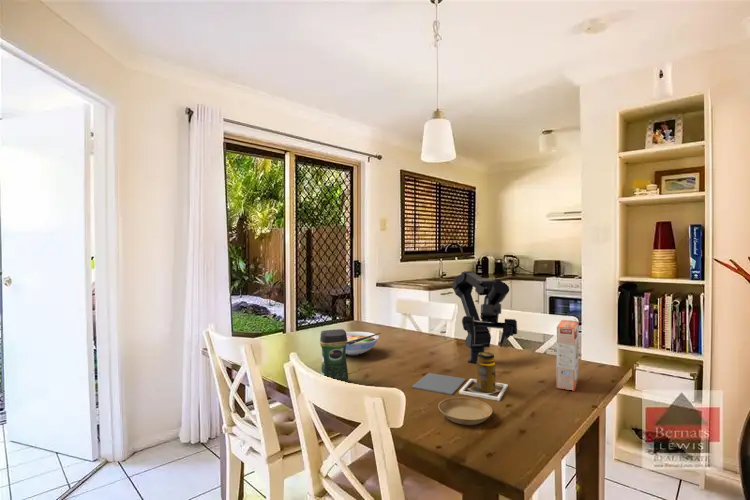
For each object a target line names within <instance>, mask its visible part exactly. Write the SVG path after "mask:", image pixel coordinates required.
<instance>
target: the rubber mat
mask: <svg viewBox="0 0 750 500" xmlns="http://www.w3.org/2000/svg"><path fill="white" fill-rule="evenodd" d="M466 380H467V379H466V378H464V377H456V376H452V375H451V376H450V375H445V374H438V373H433V372H428V373H427V374H425V375H424V376H423V377H421V378H420V379H419V380H418V381H417V382H414V384H413V385H412V386H411V388H412V389H418V390H423V391H429V392H433V393H439V394H445V395H449V396H452V395H454V393H455V392H456V391H457V390H458V389H459V388H460V387H461V386H462V385H463V383H465V381H466Z"/></svg>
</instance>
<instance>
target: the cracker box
mask: <svg viewBox="0 0 750 500" xmlns="http://www.w3.org/2000/svg"><path fill="white" fill-rule="evenodd" d="M579 324H580V323H579V321H577V320H570V319H569V320H567V319H561V321H560V322H559V323H558V325H556V365H555V366H556V373H555V374H556V375H555V377H556V378H555V380H556V381H555V386H556V389H560V390H564V389H565V391H569V390H572V391H571V392H575V391H576V387H577V385H576V384H578V381H579V356H580V355H579V352H580V351H579V347H580V346H579V344H580V343H579V339H580V338H579V335H580V334H579V332H580V331H579V330H580V326H579Z"/></svg>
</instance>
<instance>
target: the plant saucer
mask: <svg viewBox="0 0 750 500" xmlns="http://www.w3.org/2000/svg"><path fill="white" fill-rule="evenodd" d="M437 406H438V407H437V408H438V410H439V411H440V413H441V414H442V415H443V416H444V417H445V418H446V419H447V420H449V421H450V422H452V423H455V424H457V425H458V424H459V425H463V426H464V425H465V426H473V425H474V426H475V425H479V424H481V423H484V422H485V421H487V419H488V418H490V416H492V414H493V408H492V407H491V405H489V404H488V403H486V402H485V401H482V400H479V399H475V398H471V397H461V396H460V397H459V396H457V397H451V398H450V397H449V398H446V399H443V400H441V401H440V402H439V403H438V405H437Z"/></svg>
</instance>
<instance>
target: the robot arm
mask: <svg viewBox="0 0 750 500" xmlns="http://www.w3.org/2000/svg"><path fill="white" fill-rule="evenodd" d="M451 284H452V285H451V287H452V290H453V291H454V294H455V295H456V296H457V297H458V298H460V301H461V304H462V307H463V310H464V313H465V315H464V316H463V317H462V320H461V323H462V327H463V330H464V331H466V332H467V336H466V338H465V339H464V343H465V347H467V348H469V351H470V352H469V355H470V356H469V359H468V360H467V363H472V364H477V360H478V353H480V352H486V350H485V348H490V346H491V341H492V336H491V333H490V330H489V328H490V329H502V333H501V338H500V344H499V345H500V348H502V347H503V346H504V344H505V343H506V342H507V340H508V339H509V338H510V337H512V336H514V335H517V334H518V322H517V320H516V318H504V322H499V315H501V314H502V302H503V301H504V299H505V298H506V297H507V295H508V294H509V291H510V287H509V285H508V284H507V283H506V282H503V281H502V280H501V278H499V279H498V278H497V279H494V280H493V279H486V278H483V277H481V276H480V275H478V274H476V273H475V271H473V270H470V271H469V270H467V271H466V270H465V271H462V272H461V274H459V275H458V276H456V277H455V278H454V279H453V281H452V283H451ZM474 288H475V292H476V294H477V295H478V296H484V298H483V303H481V304H480V317H479V314H478V309H477V307H476V304H475V301H474V298H473V296H472V292H473V289H474Z"/></svg>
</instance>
